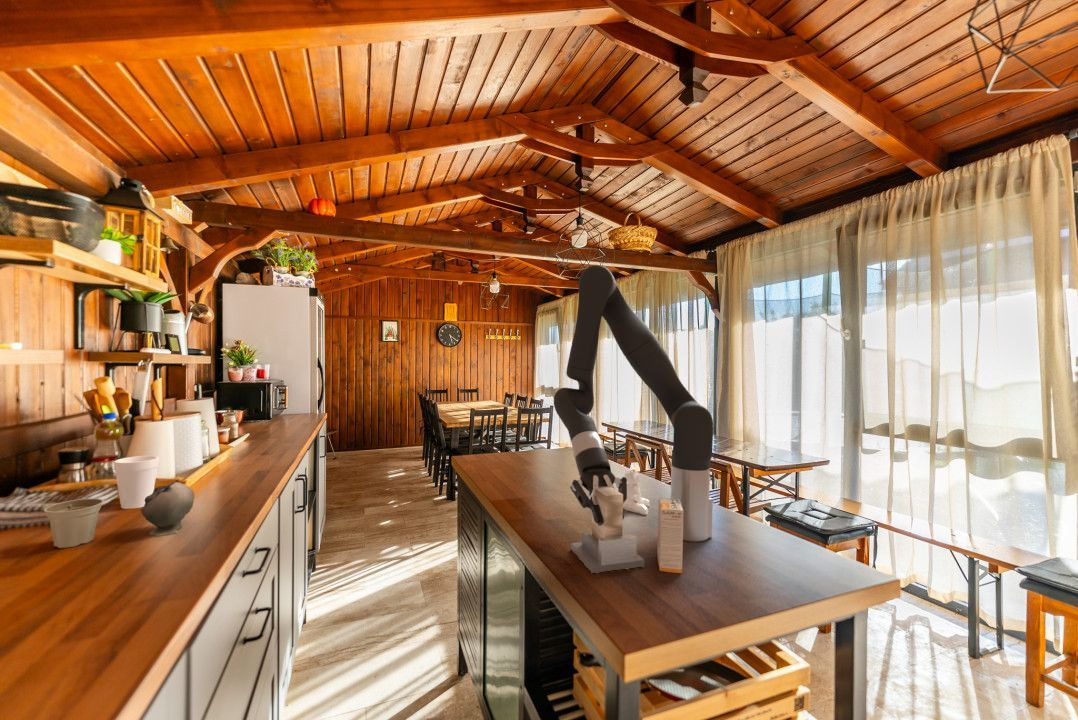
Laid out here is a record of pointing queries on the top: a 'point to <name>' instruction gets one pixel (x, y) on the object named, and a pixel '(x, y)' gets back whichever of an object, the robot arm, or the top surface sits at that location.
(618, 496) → the brown paper bag
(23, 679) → the top surface
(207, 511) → the top surface
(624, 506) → the sitting furry creature
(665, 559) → the supplement box
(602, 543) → the cradle
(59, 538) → the flower pot
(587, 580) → the top surface
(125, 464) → the foam cup
